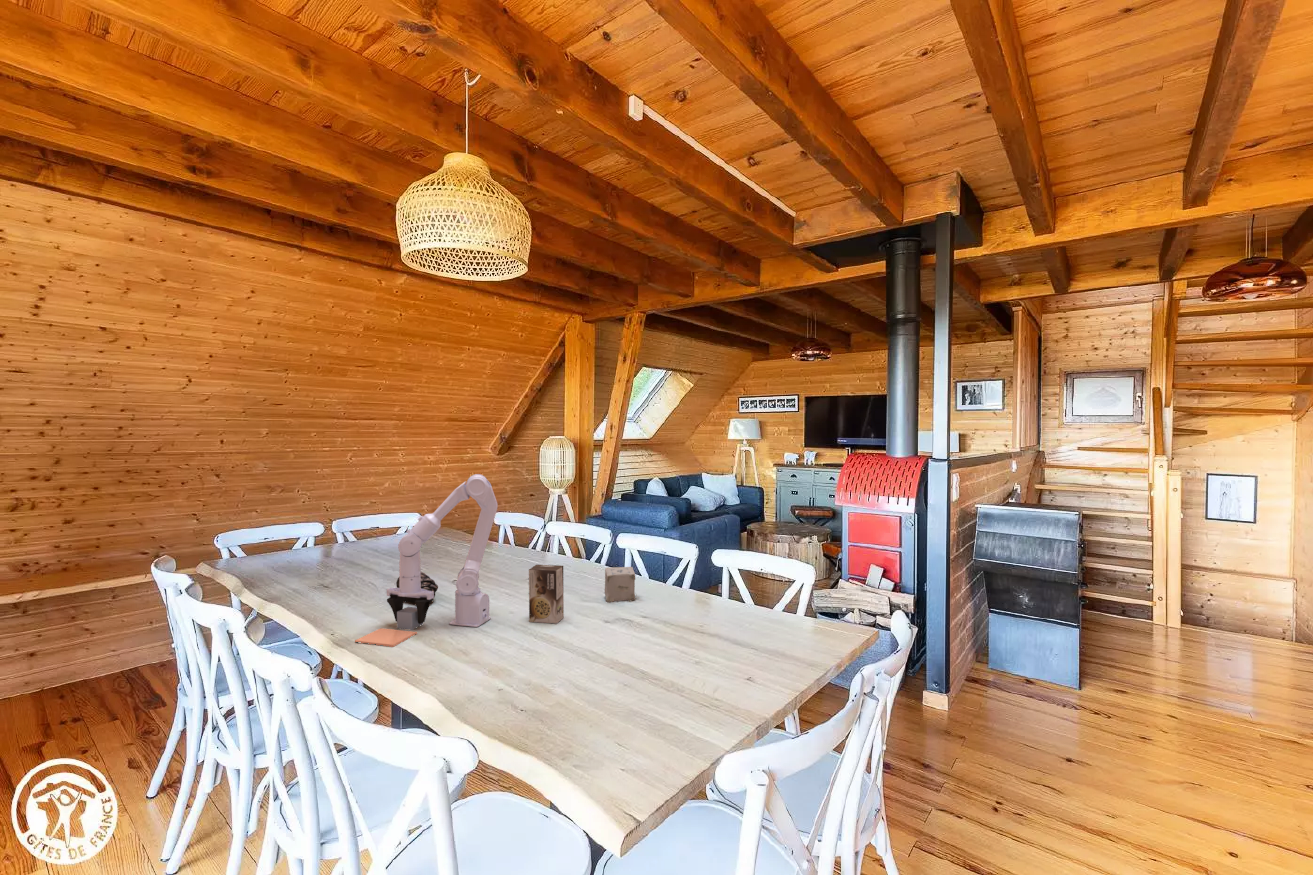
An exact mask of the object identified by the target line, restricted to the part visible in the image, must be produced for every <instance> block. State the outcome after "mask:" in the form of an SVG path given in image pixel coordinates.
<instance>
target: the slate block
mask: <svg viewBox="0 0 1313 875" xmlns="http://www.w3.org/2000/svg"><path fill="white" fill-rule="evenodd" d="M422 624H423V625H424V622H423V623H421V624H418V612H417V607H416V606H415V607H414V606H407V607H404V608H403V609H402V610H400V611H398V612H397V622H396V629H397V628H401V629H400V630H405V629H410V630H409V631H414V630H415V629H417V628H419V627H421V626H423V625H422ZM420 625H421V626H420ZM418 626H419V627H418ZM416 627H417V628H416ZM414 628H415V629H414Z"/></svg>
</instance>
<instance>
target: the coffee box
mask: <svg viewBox="0 0 1313 875" xmlns="http://www.w3.org/2000/svg"><path fill="white" fill-rule="evenodd" d="M528 597H529V598H528V600H529V601H528V602H529V603H528V608H529V609H528V610H529V611H528V612H529V613H528V615H529V616H528V621H529V623H543V624H545V623H546V624H559V622H560V621H561V620H563V619H564V615H565V614H564V612H565V611H564V601H565V599H564V565H559V564H557V565H556V564H554V565H553V564H535V565H534V566H532V567H531V568H528Z"/></svg>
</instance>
